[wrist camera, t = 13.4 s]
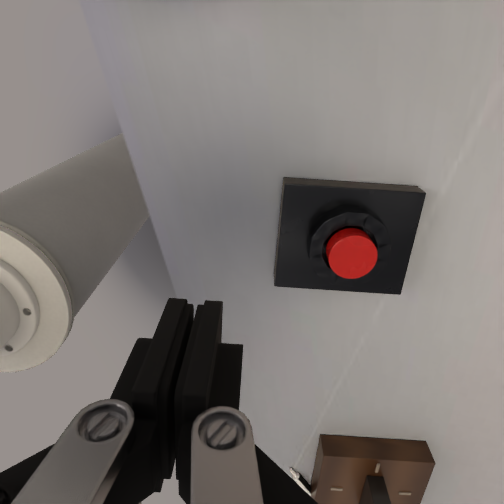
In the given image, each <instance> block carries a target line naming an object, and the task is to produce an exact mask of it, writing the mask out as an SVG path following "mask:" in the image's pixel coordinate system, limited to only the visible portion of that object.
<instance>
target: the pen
mask: <svg viewBox="0 0 504 504" xmlns="http://www.w3.org/2000/svg"><path fill="white" fill-rule="evenodd" d="M290 472H291V473H292V474H293V478H294V479H295V481H296V482H297V483H298V485H299V486H300V487H301V488H302V489H303V490H304V491H305V492H306V493H308V494H309V495H310V496H311V487H310V486H309V485H308V483H307V482H306V481H305V480H304V479H303V478H302V476H301V475H300V474H299V473H298V472H296V473H295V471H294V470H293V469H292V468H290Z"/></svg>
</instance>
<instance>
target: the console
mask: <svg viewBox="0 0 504 504" xmlns="http://www.w3.org/2000/svg"><path fill="white" fill-rule="evenodd" d="M434 465H435V461H434V459H433V457H432V454H431V452H430V450H429V447H428V445H427V443H426V441H413V440H398V439H382V438H367V437H351V436H336V435H320V438H319V444H318V449H317V454H316V460H315V465H314V470H313V476H312V481H311V486H310V487H311V497H312V498H313V499H314V500H315V501H316V502H317V503H318V504H359V503H360V499H361V495H362V492H363V488H364V484H365V481H366V477H367V476H381V477H384V480H385V484H386V487H387V491H388V494H389V498H390V501H391V504H420V503H421V500H422V497H423V495H424V492H425V489H426V487H427V484H428V481H429V479H430V476H431V473H432V471H433V468H434Z"/></svg>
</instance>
